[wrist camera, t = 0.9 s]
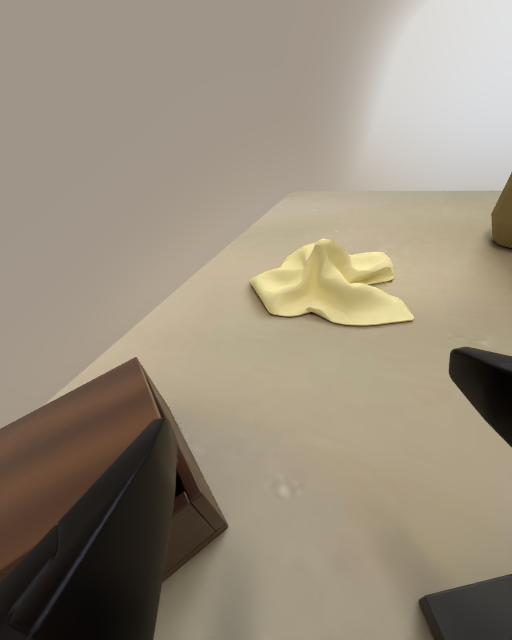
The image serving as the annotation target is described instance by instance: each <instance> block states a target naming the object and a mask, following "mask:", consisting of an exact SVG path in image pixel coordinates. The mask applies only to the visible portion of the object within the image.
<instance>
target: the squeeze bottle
mask: <svg viewBox="0 0 512 640" xmlns="http://www.w3.org/2000/svg"><path fill="white" fill-rule="evenodd" d="M492 238H493V240H494V241H495V242H496V243H498V244H500V245H502V246H506V247H509V248H512V173H511V175H510V177H509V179H508V181H507V183H506V185H505V188H504V189H503V191H502V193H501V196H500V198H499V200H498V202H497V204H496V206H495V208H494V210H493V212H492Z"/></svg>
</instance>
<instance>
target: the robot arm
mask: <svg viewBox="0 0 512 640" xmlns="http://www.w3.org/2000/svg"><path fill="white" fill-rule="evenodd" d="M449 375H450V377H451V379H452V381H453V382H454V383H455V384H456V385H457V387H458V388H459V389H460V390H461V392H462V393H463V394H464V395H465V396H466V398H467V399H468V400H469V401H470V403H471V404H472V405H473V406H474V407H475V409H476V410H477V411H478V412H479V414H480V415H481V416H482V417H483V418H484V419H485V420H486V422H487V423H488V424H489V425H490V426H491V427H492V428H493V429H494V430H495V431H496V432H497V433H498V434H499V435H500V436H501V437H502V438H503V439H504V440H505V441H506V442H507V443H508V444H509V445H510V446H511V447H512V356H507V355H502V354H498V353H493V352H489V351H484V350H480V349H475V348H470V347H461V348H457V349H453V350H452V351H451V353H450V361H449ZM176 461H177V438H176V435H175V432H174V430H173V428H172V425H171V423H170V421H169V419H168V418H167V417H162V418H157V419H154V420H153V421H152V422H151V423H150V424H149V425H148V426H147V427H146V428H145V429H144V430H143V431H142V432H141V433H140V434H139V435H138V436H137V438H136V439H135V440H134V441H133V442H132V443H131V444H130V445H129V446H128V447H127V448H126V449H125V450H124V451H123V452H122V454H121V455H120V456H119V457H118V458H117V459H116V460H115V461H114V462H113V463H112V464H111V465H110V466H109V467H108V469H107V470H106V471H105V472H104V473H103V474H102V475H101V476H100V477H99V478H98V479H97V480H96V481H95V482H94V483H93V485H92V486H91V487H90V488H89V489H88V490H87V491H86V492H85V493H84V494H83V495H82V496H81V497H80V498H79V499H78V501H77V502H76V503H75V504H74V505H73V506H72V507H71V508H70V509H69V510H68V511H67V512H66V513H65V514H64V515H63V517H62V518H61V519H60V520H59V521H58V523H57V525H54V526H53V527H52V528H51V529H50V530H49V531H48V532H47V534H46V535H45V536H44V537H43V538H42V539H41V540H40V541H39V542H38V543H37V544H36V545H35V546H34V547H33V548H32V549H31V550H30V551H29V552H28V553H27V555H26V556H25V557H24V558H23V559H22V560H21V561H20V562H19V563H18V564H17V565H16V566H15V567H14V568H13V569H12V570H11V571H10V572H9V573H8V574H7V575H6V576H5V577H4V578H3V579H2V580H1V581H0V640H153V638H154V631H155V625H156V618H157V611H158V605H159V598H160V591H161V585H162V578H163V571H164V565H165V558H166V551H167V545H168V538H169V532H170V525H171V518H172V512H173V505H174V497H175V485H176Z"/></svg>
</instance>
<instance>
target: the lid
mask: <svg viewBox="0 0 512 640" xmlns="http://www.w3.org/2000/svg"><path fill="white" fill-rule="evenodd" d="M157 418H161V416H160V413H159V411H158V408H157V405H156V403H155V400H154V397H153V395H152V392H151V390H150V387H149V384H148V382H147V379H146V377H145V374H144V371H143V369H142V366H141V364H140V362H139V360H138V359H137V357H135V358H133V359H131V360H129V361H127V362H125V363H124V364H122V365H120V366H118V367H116V368H114V369H112V370H110V371H109V372H107V373H105V374H103V375H101V376H99V377H97V378H95V379H93V380H92V381H90V382H88V383H86V384H84V385H82V386H80V387H78V388H76V389H75V390H73V391H71V392H69V393H67V394H65V395H63V396H61V397H60V398H58V399H56V400H54V401H52V402H50V403H48V404H46V405H44V406H43V407H41V408H39V409H37V410H35V411H33V412H31V413H29V414H28V415H26V416H24V417H22V418H20V419H18V420H16V421H14V422H13V423H11V424H9V425H7V426H5V427H3V428H1V429H0V581H1V580H2V579H3V578H4V577H5V576H6V575H7V574H8V573H9V572H10V571H11V570H12V569H13V568H14V567H15V566H16V565H17V564H18V563H19V562H20V561H21V560H22V559H23V558H24V557H25V556H26V555H27V553H28V552H29V551H30V550H31V549H32V548H33V547H34V546H35V545H36V544H37V543H38V542H39V541H40V540H41V539H42V538H43V537H44V536H45V535H46V534H47V532H48V531H49V530H50V529H51V528H52V527H53V526H54V525H57V523H58V521H59V520H60V519H61V518H62V517H63V515H64V514H65V513H66V512H67V511H68V510H69V509H70V508H71V507H72V506H73V505H74V504H75V503H76V502H77V501H78V499H79V498H80V497H81V496H82V495H83V494H84V493H85V492H86V491H87V490H88V489H89V488H90V487H91V486H92V485H93V483H94V482H95V481H96V480H97V479H98V478H99V477H100V476H101V475H102V474H103V473H104V472H105V471H106V470H107V469H108V467H109V466H110V465H111V464H112V463H113V462H114V461H115V460H116V459H117V458H118V457H119V456H120V455H121V454H122V452H123V451H124V450H125V449H126V448H127V447H128V446H129V445H130V444H131V443H132V442H133V441H134V440H135V439H136V438H137V436H138V435H139V434H140V433H141V432H142V431H143V430H144V429H145V428H146V427H147V426H148V425H149V424H150V423H151V422H152V421H153V420H154V419H157ZM176 465H178V460H177V461H176Z"/></svg>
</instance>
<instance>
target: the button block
mask: <svg viewBox="0 0 512 640" xmlns="http://www.w3.org/2000/svg"><path fill="white" fill-rule="evenodd" d="M419 604H420V606H421V608H422V611H423V613H424V615H425V617H426V620H427V622H428V624H429V627H430V629H431V631H432V634H433V636H434V638H435V640H512V574H510V575H506V576H502V577H498V578H494V579H490V580H486V581H482V582H478V583H474V584H470V585H466V586H462V587H458V588H454V589H450V590H446V591H442V592H438V593H434V594H430V595H426V596H424V597H422V598H421V599H419Z"/></svg>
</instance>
